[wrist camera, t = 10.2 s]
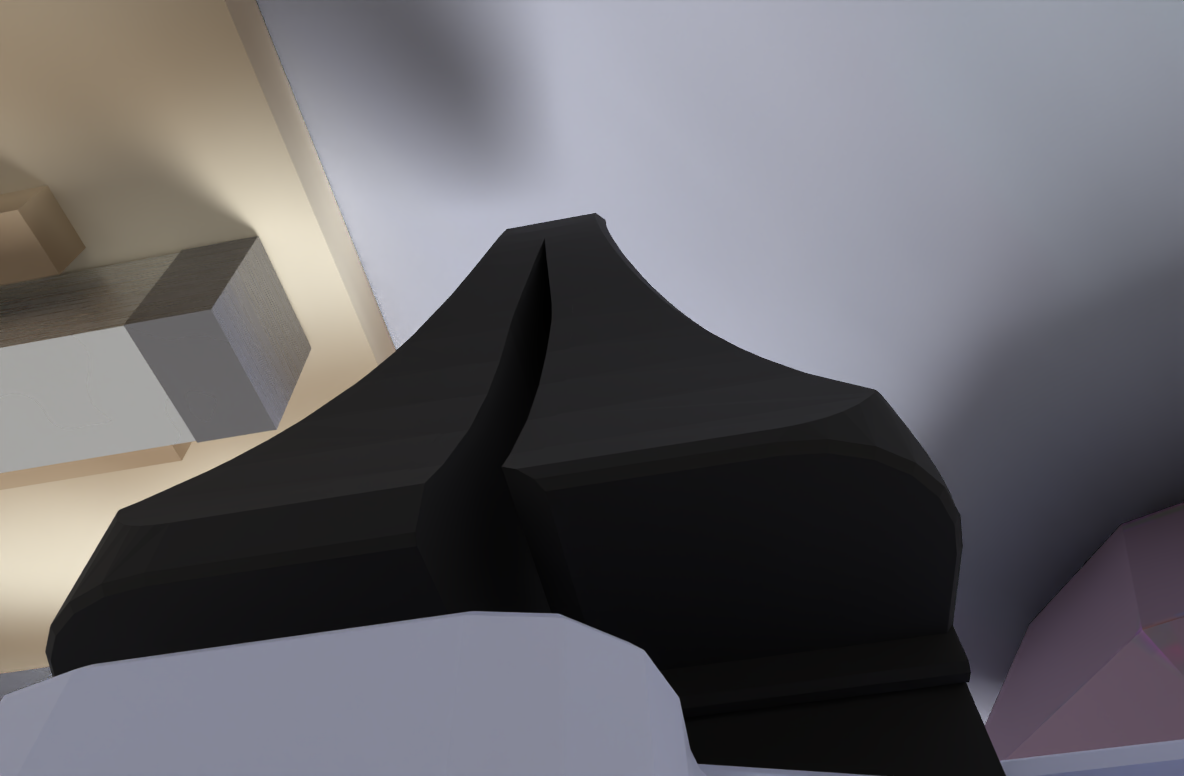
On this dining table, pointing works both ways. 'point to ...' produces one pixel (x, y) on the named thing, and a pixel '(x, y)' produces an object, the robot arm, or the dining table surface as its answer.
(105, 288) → the lock pin
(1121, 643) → the flask
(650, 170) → the dining table surface
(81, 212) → the dock
